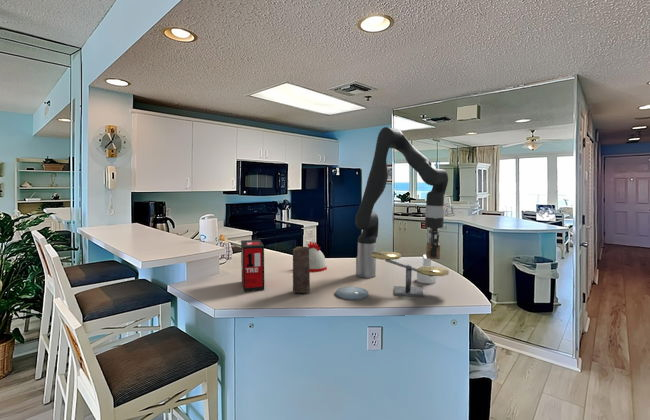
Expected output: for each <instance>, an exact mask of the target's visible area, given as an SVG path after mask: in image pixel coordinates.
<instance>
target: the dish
mask: <svg viewBox="0 0 650 420" xmlns="http://www.w3.org/2000/svg"><path fill="white" fill-rule="evenodd" d="M335 296H336V297H337V298H339V299H343V300H348V301H349V300H352V301H357V300H363V299H367V298H368V297H369V290H368V289H366V288H362V287H358V286H344V287H343V286H342V287H339V288H337V289H336V290H335Z"/></svg>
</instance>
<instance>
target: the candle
mask: <svg viewBox="0 0 650 420" xmlns="http://www.w3.org/2000/svg"><path fill="white" fill-rule="evenodd" d="M310 274H311V272H310V269H309V247H308V246H296V247H295V248H292V291H293V292H295V293H299V294H300V293H302V294H304V293H310V292H311V291H310V290H311V280H310V279H311V278H310V277H311V276H310Z"/></svg>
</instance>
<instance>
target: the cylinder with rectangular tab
mask: <svg viewBox="0 0 650 420" xmlns="http://www.w3.org/2000/svg"><path fill="white" fill-rule="evenodd" d="M422 266H432V259H427V257H426V254H422ZM416 281H417V282H418V283H422V284H435V283H437V276H432V277H431V276H428V275H423V274H420V273H418V272H416Z"/></svg>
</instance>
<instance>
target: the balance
mask: <svg viewBox="0 0 650 420" xmlns="http://www.w3.org/2000/svg"><path fill="white" fill-rule="evenodd" d="M371 257H373V258H376V260H384V261H385V262H387V263H389V264H393V265H396V266H398V267H401V268H404V269H405V286H404V285H403V286H400V285H399V286H398V285H394V286H393V293H394V296H399V297H400V296H403V297H421V298H424V297H425V295H424V291H423V289H422V287H419V286H412V275H413V274H412V272H416V273H417V272H418V273H420V274H423V275H428V276H431V277H432V276H436V277H444V276H448V275H449V271H450V270H449V269H447V268H444V267H441V266H434V265H431V266H423V265H422V266H418V267H416V268H415V267H413V266H411V264H405V263H401V262H398V261H395V260H399V259H401V257H402V254H401V253H399V252H395V251H390V250H389V251H386V250H383V251H382V250H381V251H378V250H376V252H372V253H371Z"/></svg>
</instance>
